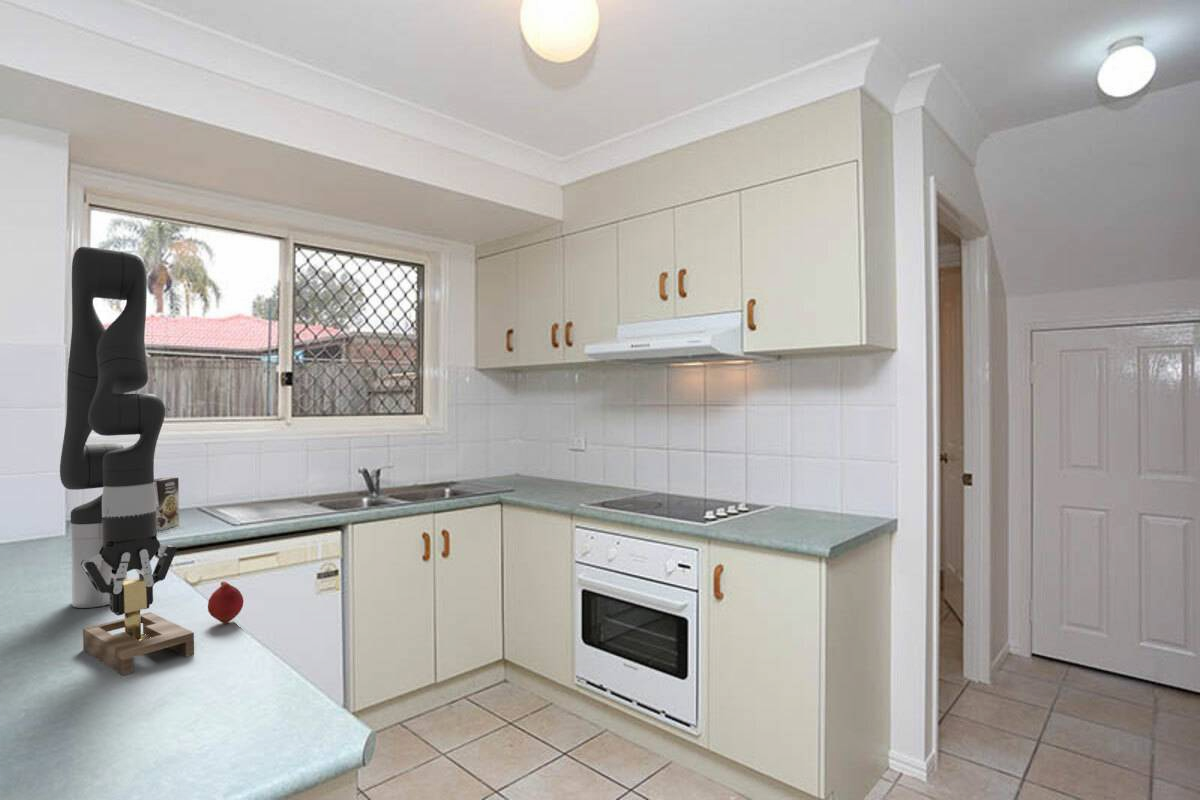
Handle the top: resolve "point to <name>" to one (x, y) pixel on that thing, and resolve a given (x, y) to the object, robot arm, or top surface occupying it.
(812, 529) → the top surface
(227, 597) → the onion
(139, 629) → the keyhole peg
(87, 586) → the robot arm
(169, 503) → the coffee box
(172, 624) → the keyhole plate
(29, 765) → the top surface
